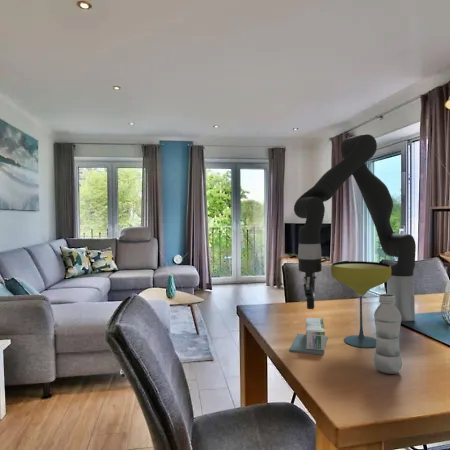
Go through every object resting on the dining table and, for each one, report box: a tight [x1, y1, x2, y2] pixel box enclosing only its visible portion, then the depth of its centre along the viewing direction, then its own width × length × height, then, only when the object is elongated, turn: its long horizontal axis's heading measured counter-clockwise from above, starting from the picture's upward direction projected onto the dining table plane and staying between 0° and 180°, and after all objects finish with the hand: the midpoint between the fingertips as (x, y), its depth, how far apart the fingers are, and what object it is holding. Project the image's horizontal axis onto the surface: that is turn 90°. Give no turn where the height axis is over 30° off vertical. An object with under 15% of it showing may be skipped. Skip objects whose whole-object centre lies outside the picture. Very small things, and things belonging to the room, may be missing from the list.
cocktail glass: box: [330, 260, 392, 349], centre depth 113 cm, size 18×18×25 cm
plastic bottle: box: [373, 293, 403, 375], centre depth 91 cm, size 6×7×20 cm
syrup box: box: [305, 317, 326, 351], centre depth 113 cm, size 6×6×14 cm
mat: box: [288, 333, 328, 356], centre depth 112 cm, size 10×15×1 cm, turn 159°
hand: (310, 308), depth 117 cm, fingers closed
